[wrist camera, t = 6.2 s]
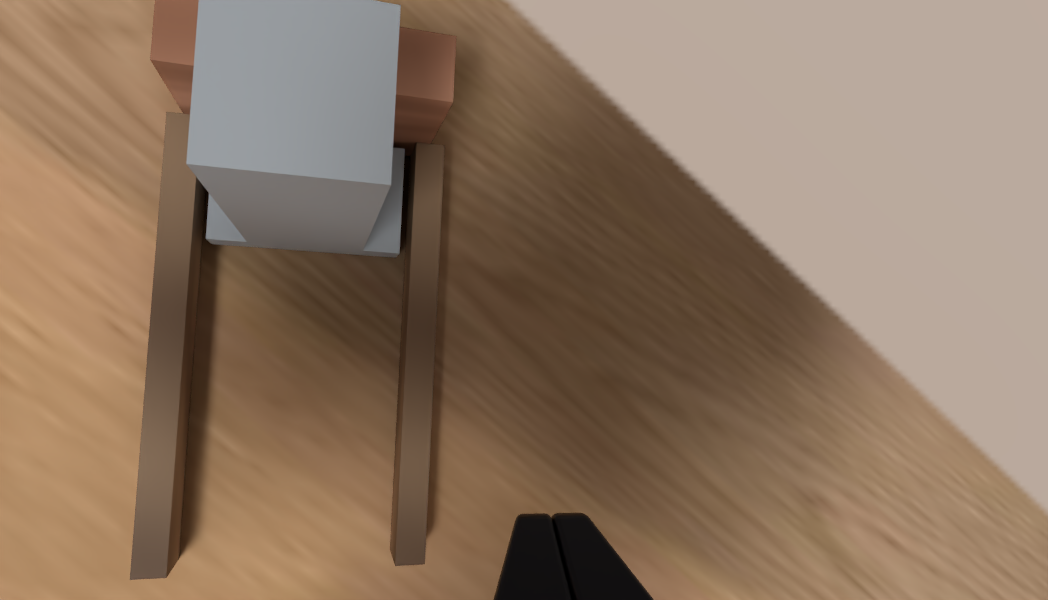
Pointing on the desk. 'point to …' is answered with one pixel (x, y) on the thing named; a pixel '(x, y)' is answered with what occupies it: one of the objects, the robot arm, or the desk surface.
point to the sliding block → (298, 124)
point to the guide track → (177, 283)
